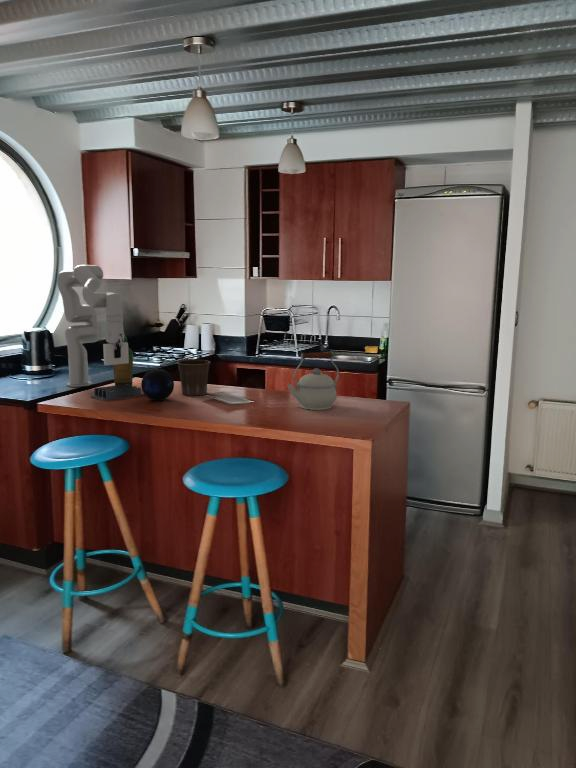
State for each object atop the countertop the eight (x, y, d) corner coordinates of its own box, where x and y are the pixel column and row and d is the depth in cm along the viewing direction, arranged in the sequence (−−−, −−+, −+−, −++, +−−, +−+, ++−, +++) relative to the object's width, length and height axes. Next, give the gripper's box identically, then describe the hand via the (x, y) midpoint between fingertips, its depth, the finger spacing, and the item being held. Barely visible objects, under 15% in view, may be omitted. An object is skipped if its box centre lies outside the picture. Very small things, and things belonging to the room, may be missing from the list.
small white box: (104, 365, 299) (103, 344, 297) (126, 362, 307) (126, 342, 305) (106, 365, 297) (105, 344, 296) (128, 363, 306) (128, 342, 304)
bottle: (109, 389, 321) (106, 335, 316) (120, 386, 331) (118, 333, 326) (127, 390, 318) (125, 335, 313) (138, 387, 328) (136, 333, 323)
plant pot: (205, 397, 303) (204, 364, 300) (173, 396, 305) (172, 363, 302) (214, 391, 318) (214, 360, 315) (183, 390, 321) (183, 359, 318)
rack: (90, 396, 303) (89, 388, 302) (130, 391, 317) (130, 383, 317) (103, 401, 293) (103, 392, 292) (145, 395, 307) (145, 387, 307)
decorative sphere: (138, 403, 288) (137, 371, 285) (145, 397, 302) (144, 366, 300) (171, 403, 288) (171, 371, 286) (176, 397, 303) (175, 366, 300)
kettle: (329, 401, 296) (330, 349, 291) (346, 409, 279) (348, 354, 275) (279, 405, 287) (280, 351, 283) (294, 413, 270) (295, 356, 266)
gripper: (99, 318, 302) (101, 356, 305) (115, 320, 290) (117, 359, 293) (113, 317, 307) (115, 355, 310) (130, 319, 295) (131, 358, 299)
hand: (116, 357), depth 302 cm, fingers closed on small white box, 2 cm apart
